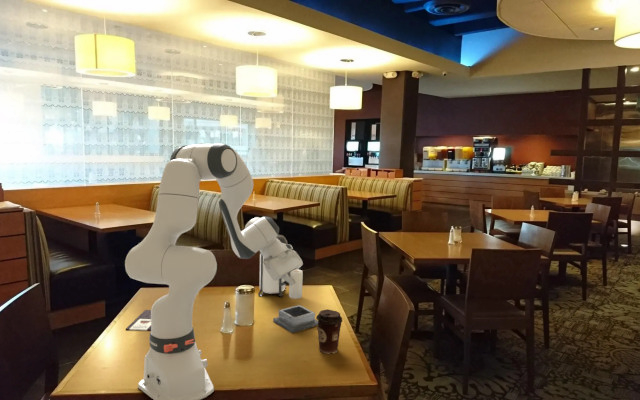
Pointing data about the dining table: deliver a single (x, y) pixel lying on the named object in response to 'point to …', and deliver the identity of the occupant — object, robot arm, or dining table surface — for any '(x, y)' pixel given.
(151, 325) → the robot arm
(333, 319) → the coffee cup
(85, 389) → the dining table surface
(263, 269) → the coffee press
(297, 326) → the roll stand
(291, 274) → the paper roll
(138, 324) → the chocolate bar
